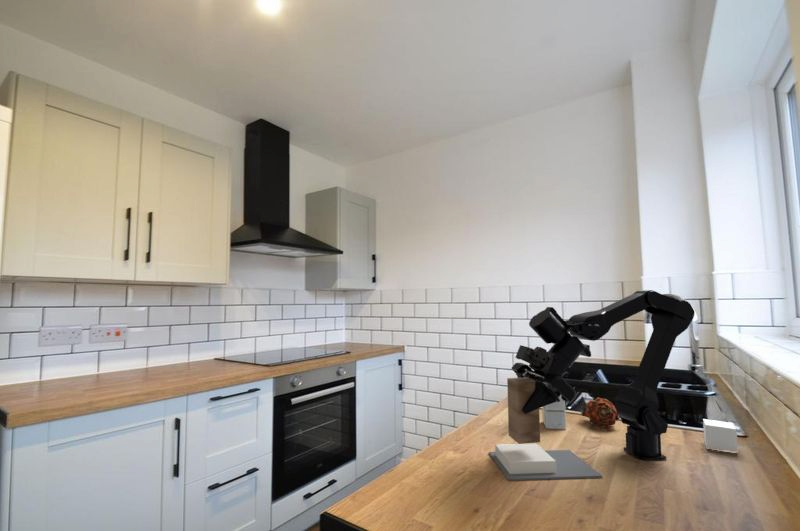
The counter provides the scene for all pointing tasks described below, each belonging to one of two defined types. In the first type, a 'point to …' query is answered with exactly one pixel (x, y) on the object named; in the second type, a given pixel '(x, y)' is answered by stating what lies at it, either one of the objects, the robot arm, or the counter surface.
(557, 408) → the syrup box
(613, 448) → the counter surface
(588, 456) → the counter surface
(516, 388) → the walnut pillar block
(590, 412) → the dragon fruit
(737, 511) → the counter surface
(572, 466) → the build board
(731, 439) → the white cube
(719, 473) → the counter surface
